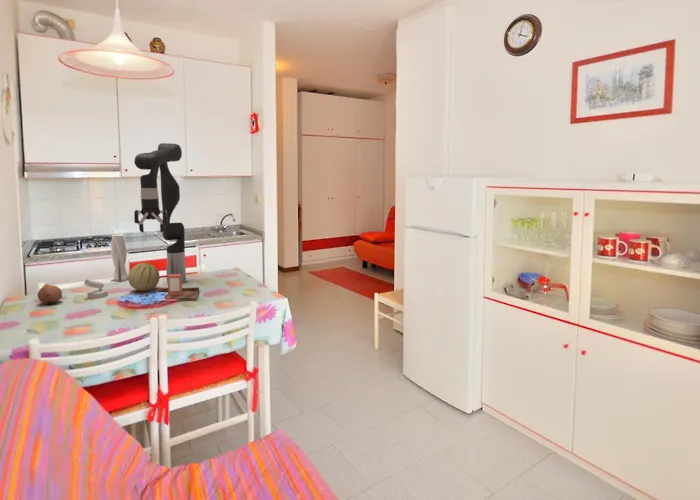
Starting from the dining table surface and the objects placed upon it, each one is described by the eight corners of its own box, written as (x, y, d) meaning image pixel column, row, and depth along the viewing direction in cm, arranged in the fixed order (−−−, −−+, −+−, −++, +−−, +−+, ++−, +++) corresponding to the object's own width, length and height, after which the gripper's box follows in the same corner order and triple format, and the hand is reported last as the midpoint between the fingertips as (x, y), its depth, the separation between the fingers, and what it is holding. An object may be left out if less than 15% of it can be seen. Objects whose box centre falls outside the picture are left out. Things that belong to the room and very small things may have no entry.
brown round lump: (45, 308, 210) (39, 288, 210) (67, 301, 213) (60, 281, 213) (38, 307, 201) (31, 286, 201) (60, 299, 204) (54, 279, 204)
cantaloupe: (122, 292, 227) (120, 263, 225) (145, 285, 241) (143, 258, 238) (144, 296, 222) (142, 266, 219) (166, 288, 235) (165, 261, 233)
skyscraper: (109, 280, 249) (104, 231, 244) (121, 277, 256) (117, 229, 251) (120, 282, 246) (116, 232, 241) (132, 279, 253) (128, 230, 248)
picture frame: (168, 295, 218) (167, 275, 216) (169, 293, 221) (168, 274, 219) (181, 295, 219) (180, 275, 217) (182, 293, 222) (181, 273, 221)
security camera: (79, 278, 215) (98, 274, 224) (81, 297, 217) (100, 292, 226) (91, 281, 212) (110, 276, 221) (92, 300, 214) (111, 295, 222)
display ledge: (152, 302, 212) (151, 296, 212) (157, 294, 225) (157, 288, 224) (196, 300, 216) (195, 294, 216) (199, 293, 229) (199, 287, 228)
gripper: (167, 197, 213) (169, 230, 216) (135, 197, 210) (137, 231, 213) (164, 198, 206) (166, 233, 209) (131, 198, 203) (133, 233, 206)
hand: (152, 232), depth 211 cm, fingers open, 8 cm apart
